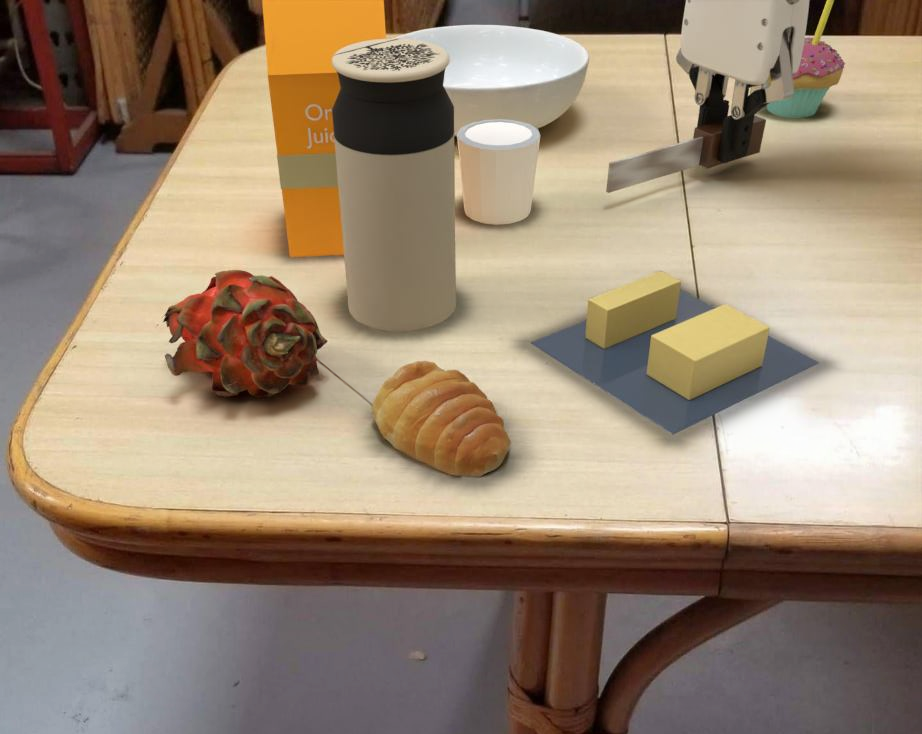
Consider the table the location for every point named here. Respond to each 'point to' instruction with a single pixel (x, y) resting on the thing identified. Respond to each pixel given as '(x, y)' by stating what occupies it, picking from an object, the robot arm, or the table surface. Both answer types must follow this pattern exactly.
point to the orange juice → (311, 109)
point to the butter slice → (632, 309)
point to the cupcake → (811, 75)
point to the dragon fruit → (245, 335)
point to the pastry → (441, 420)
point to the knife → (678, 156)
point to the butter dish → (630, 384)
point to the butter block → (707, 351)
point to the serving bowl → (508, 72)
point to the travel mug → (396, 182)
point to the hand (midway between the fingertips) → (720, 152)
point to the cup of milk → (498, 169)
